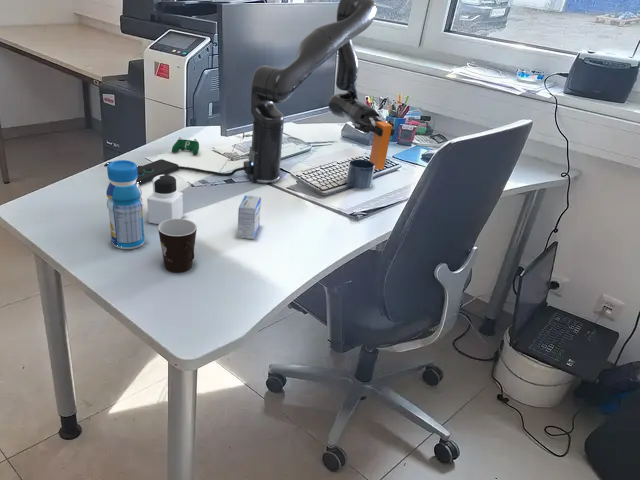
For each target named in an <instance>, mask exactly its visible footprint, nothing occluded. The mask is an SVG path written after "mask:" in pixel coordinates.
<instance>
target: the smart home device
mask: <svg viewBox="0 0 640 480" xmlns="http://www.w3.org/2000/svg"><path fill="white" fill-rule="evenodd" d="M139 166H140V167H138V168H137V173H138V177H137V180H136V181H137V182H139V183H138V184H139V186H142V185H143V184H146V183H149V182H151V181H152V182H153V178H154V177H156V176H159V175H170V174H172V173H174V172H177V171H179V169H178V166H179V164H178V163H175V162H172V161H169V160H166V159H163V158H160V159H156V160H155V161H151V162H149V163H146V164H143V165H139ZM140 181H141V182H140Z"/></svg>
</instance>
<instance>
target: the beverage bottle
mask: <svg viewBox="0 0 640 480" xmlns="http://www.w3.org/2000/svg"><path fill="white" fill-rule="evenodd" d="M110 162H111V163H109V164H108V165H107V166H106V170H107V171H106V173H107V179H108V180H109V181H110V182H109V183H108V185H107V187H106V192H105V193H106V197H107V199H106V208H107V210H108V219H109V226H110V242H111V245H112V246H113V247H115V248H117V249H119V250H133V249H137V248H140V247H142V246H143V245H144V244H145V242H146V239H145V229H144V212H143V211H144V210H143V209H144V208H143V207H144V199H143V198H142V197H141V196H142V194H143V191H142V187H141V185H139V184H138V183H137V181H136V180H137V177H138V173H137V166H138V165H137V163H136V162H134V161H132V160H126V159H120V160H119V159H117V160H113V161H110ZM112 242H113V243H114V244H113V243H112ZM117 245H118V246H117ZM121 246H122V247H121Z"/></svg>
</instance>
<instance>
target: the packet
mask: <svg viewBox="0 0 640 480" xmlns="http://www.w3.org/2000/svg"><path fill="white" fill-rule="evenodd" d="M386 121H387V120H385V121H382V122H376V125H377V126H379V127H380V128H382V129H383V135H382V136H378V135H377V134H375V133H373V139H372V143H371V150H370V156H369V161H370V162H373V163H374V164H375V168H374V171H375V170H384V169H385V165H386V161H387V156H388V155H387V154H388V150H389V145H390V140H391V136H390V134H391V129H392V125H390V124H389V123H387V122H386Z"/></svg>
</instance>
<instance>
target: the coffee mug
mask: <svg viewBox="0 0 640 480" xmlns="http://www.w3.org/2000/svg"><path fill="white" fill-rule="evenodd" d="M197 229H198V226H197V224H196V223H195V222H194V221H191V220H189V219H186V218H181V219H169V220H166V221H163V222H161V223H160V224H158V225H157V231H158V235H159V236H158V237H159V242H160V247H161V254H162V259H163V265H164V269H165V270H166V271H168V272H171V273H174V274H183V273H186V272H188V271H190V270H191V269H192V267H193V261H194V259H195V246H196V238H197Z"/></svg>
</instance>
